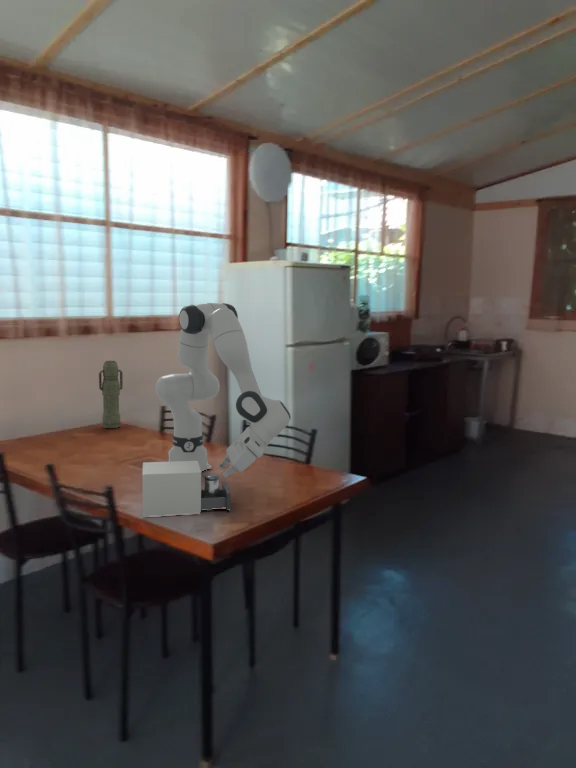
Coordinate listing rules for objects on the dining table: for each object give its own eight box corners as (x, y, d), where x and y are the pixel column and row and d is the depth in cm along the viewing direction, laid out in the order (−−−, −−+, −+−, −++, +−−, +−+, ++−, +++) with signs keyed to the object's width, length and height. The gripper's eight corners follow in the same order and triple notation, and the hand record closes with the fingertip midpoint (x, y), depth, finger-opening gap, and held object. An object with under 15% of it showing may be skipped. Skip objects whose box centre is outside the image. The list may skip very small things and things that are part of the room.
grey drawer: (174, 500, 203) (174, 483, 202) (225, 498, 207) (225, 481, 206) (176, 514, 190) (176, 495, 190) (230, 511, 194) (230, 493, 193)
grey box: (143, 503, 201) (142, 462, 199) (197, 500, 205) (197, 460, 203) (142, 518, 188) (142, 474, 186) (200, 514, 192) (201, 472, 190)
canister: (203, 500, 201) (203, 474, 200) (217, 499, 202) (218, 473, 201) (204, 505, 196) (205, 478, 195) (219, 504, 197) (219, 477, 196)
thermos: (97, 426, 317) (96, 360, 312) (119, 424, 324) (118, 359, 319) (103, 430, 310) (101, 362, 305) (125, 427, 317) (124, 361, 312)
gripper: (241, 428, 208) (212, 457, 208) (250, 442, 189) (218, 474, 188) (253, 441, 210) (225, 469, 209) (263, 456, 190) (232, 487, 190)
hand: (222, 471), depth 199 cm, fingers open, 8 cm apart
